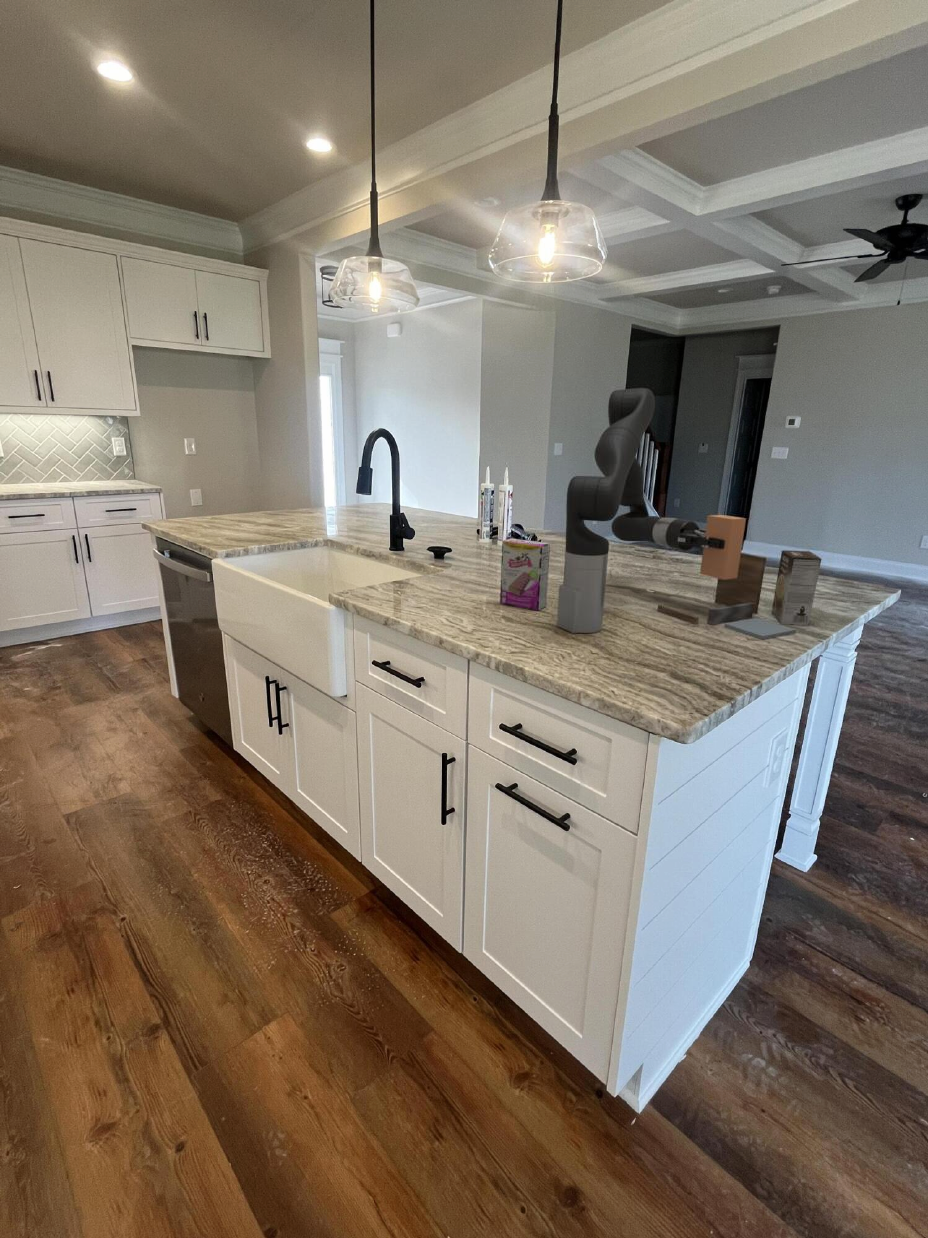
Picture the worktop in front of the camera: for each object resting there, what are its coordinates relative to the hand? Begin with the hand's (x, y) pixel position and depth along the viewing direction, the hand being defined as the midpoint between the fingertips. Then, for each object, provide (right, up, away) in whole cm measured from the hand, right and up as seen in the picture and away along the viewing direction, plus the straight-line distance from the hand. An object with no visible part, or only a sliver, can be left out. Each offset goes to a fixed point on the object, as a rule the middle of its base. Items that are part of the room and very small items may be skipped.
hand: (730, 543), depth 141 cm
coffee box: (+16, -18, +4) cm, 24 cm away
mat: (+5, -20, -4) cm, 21 cm away
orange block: (-1, -7, +4) cm, 8 cm away
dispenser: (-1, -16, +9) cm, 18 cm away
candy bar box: (-47, -14, +13) cm, 51 cm away
